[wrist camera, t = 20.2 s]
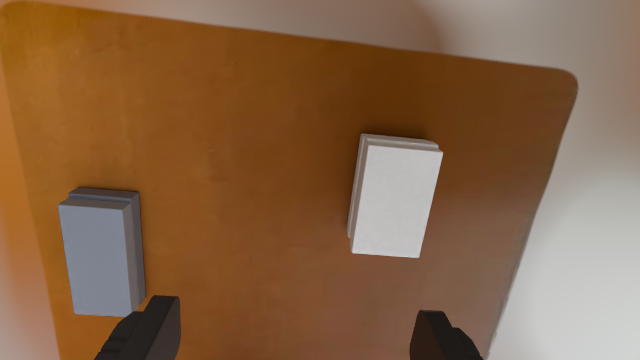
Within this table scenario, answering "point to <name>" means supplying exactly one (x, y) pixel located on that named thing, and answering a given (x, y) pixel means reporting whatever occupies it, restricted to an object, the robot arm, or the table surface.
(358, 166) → the white books
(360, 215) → the white book
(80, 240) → the grey books
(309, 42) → the table surface
